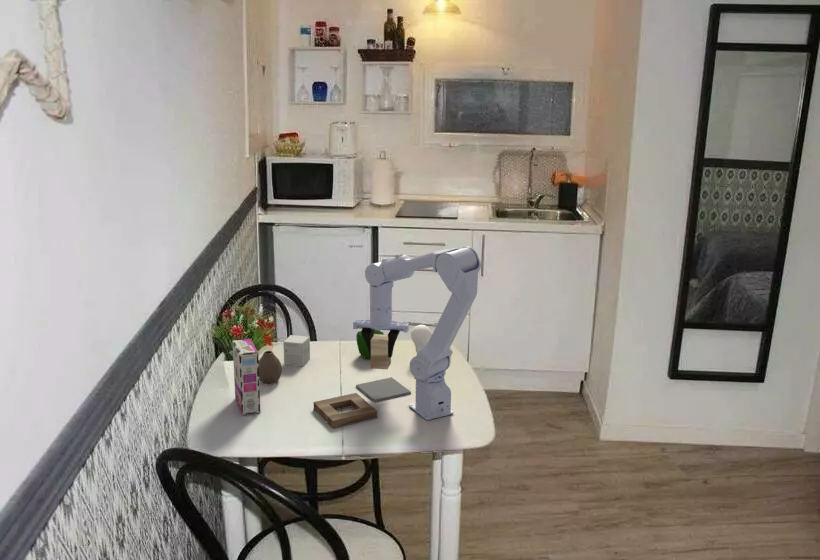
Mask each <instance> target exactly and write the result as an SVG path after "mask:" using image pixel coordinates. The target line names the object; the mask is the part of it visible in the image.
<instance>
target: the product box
mask: <svg viewBox="0 0 820 560" xmlns="http://www.w3.org/2000/svg"><path fill="white" fill-rule="evenodd" d="M310 342H311V338H310V336H303V335H295V334H291V335H288V337H287V338H286V339H285V340H284V341H283V365H285V366H295V367H304V366H306V364H307V363H308V362H309V361H310V359H311V344H310Z"/></svg>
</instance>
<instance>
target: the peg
mask: <svg viewBox="0 0 820 560" xmlns="http://www.w3.org/2000/svg"><path fill="white" fill-rule="evenodd" d="M388 350H389V342H388V334H384V335H380V334H374V336H373V337H372V339H371V359H370V369H374V370H386V371H387V370H389V367H390V366H391V364H392V357H391V358H390V357H388Z"/></svg>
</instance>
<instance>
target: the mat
mask: <svg viewBox="0 0 820 560" xmlns="http://www.w3.org/2000/svg"><path fill="white" fill-rule="evenodd" d="M355 387H356V388H357V390H360V392H362V394H364V395H365V396H366V397H368V399H370V400H371V401H373V403H376V401H377V402H380V401H386V400H389V399H394V398H399V397H403V396H407V395H412V391H410V389H408V388H407V387H405V385H403V384H402V383H400V382H399V381H397V380H396V379H395V378H393V377H387V378H381V379H377V380H373V381H369V382H368V381H367V382H364V383H359V384H356V385H355ZM402 395H403V396H402ZM398 396H399V397H398Z"/></svg>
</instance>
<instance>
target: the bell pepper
mask: <svg viewBox="0 0 820 560" xmlns="http://www.w3.org/2000/svg"><path fill="white" fill-rule="evenodd" d="M361 332H362V329H360V331H357V332H356V337H355V338H356V345H357V349H358V353H359V355H360V356H361V357H363V358H364V359H367V360H371V356H369V351H368V347H367V344H366V342H365V340H364V338H363V337H362V335H361ZM374 334H380V335H385V334H384V332H383V331H382V330H374Z"/></svg>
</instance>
